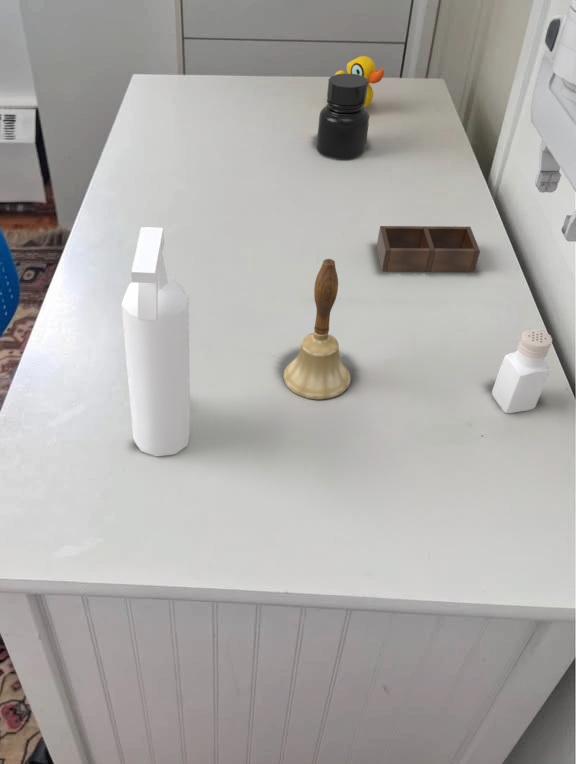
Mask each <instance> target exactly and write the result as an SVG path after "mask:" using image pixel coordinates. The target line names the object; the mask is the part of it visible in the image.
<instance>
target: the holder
mask: <svg viewBox="0 0 576 764" xmlns="http://www.w3.org/2000/svg"><path fill="white" fill-rule="evenodd" d="M471 227H472V226H453V225H451V226H442V225H441V226H440V225H439V226H438V225H436V226H435V225H433V226H432V225H428V226H427V225H426V226H425V225H424V226H423V225H422V226H421V225H380V226H379V231H378V236H377V242H376V251H377V255H378V261H379V265H380V270H381V272H382V273H465V274H467V273H475V270H476V267H477V264H478V259H479V257H480V253H481V249H480V248H479V245H478V242H477V240H476V237H475V235H474V232H473V229H472V228H471Z"/></svg>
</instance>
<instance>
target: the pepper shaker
mask: <svg viewBox="0 0 576 764" xmlns="http://www.w3.org/2000/svg"><path fill="white" fill-rule="evenodd" d="M552 343H553V337H552V336H551V334H549V333H548V332H546V331H544V330H541V329H538V328H529V329H527V330H524V331H523V332H522V334H521V336H520V339H519V342H518V344H517V347H516V351H512V352H510V353H507V354H506V355H505V356H504V357H503V359H502V362H501V365H500V368H499V371H498V373H497V376H496V379H495V382H494V385H493V388H492V390H491V395H492V397H493V399H494V400H495V402H496V403H497V404H498V406H499V407H500V408H501V410H502V411H503V412H504V413H506V414H513V413H520V412H525V411H532V410H533V409H535V408H536V406H537V404H538V401H539V399H540V396H541V394H542V392H543V390H544V387H545V385H546V382H547V380H548V377H549V375H550V373H551V367H550V365H549V364H548V362H547V361H546V357H547V356H548V352H549V350H550V348H551V346H552Z"/></svg>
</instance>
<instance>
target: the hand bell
mask: <svg viewBox="0 0 576 764" xmlns="http://www.w3.org/2000/svg"><path fill="white" fill-rule="evenodd" d="M338 291H339V278H338V273H337V269H336V262H335V260H334V259H332V258H326V259H323V261H322V264H321V266H320V268H319V271H318V273H317V275H316V277H315V281H314V289H313V295H314V302H315V303H314V304H315V308H316V315H315V323H314V326H313V327H314V329H313V330H314V331H313V332H312V333H309V334H307V335H306V336H304V338H303V339H302V340H301V343H300V348H299V351H298V354H297V356H296V358H295V359H293V360H292V361H291V362H289V363H288V364H287V366H286V367H285V369H284V370H283V375H282V378H283V382H284V385H285V386H286V387H287V388H288V389H289V390H290V391H291V392H293V394H295V395H298V396H300V397H302V398H306V399H310V400H327V399H332V398H335V397H337V396H340V395H342V394H343V393H344V392H346V391H347V389H348V388H349V387H350V384H351V372H350V371H349V369H348V367H347V366H346V365H345V364H344V363H343V362H341V358H340V345H339V344H340V343H339V341H338V339H337V338H336V337H335V336H333V335H332V334H330V333H329V331H330V317H331V312H332V309H333V306H334V304H335V302H336V300H337V296H338Z"/></svg>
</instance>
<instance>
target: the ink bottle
mask: <svg viewBox="0 0 576 764" xmlns="http://www.w3.org/2000/svg"><path fill="white" fill-rule="evenodd" d="M335 74H336V73H335ZM335 74H334V75H331V76H330V77H329V78H328V83H327V92H326V105H325V106H324V107H322V109H321V110H320V112H319V116H318V127H317V137H316V138H317V139H316V150H317V152H318V153H319V154H321V155H322V156H325V157H327V158H330V157H331V158H330V159H335V158H336V159H337V160H350V159H354V158H358V157H359V156H361V155H362V154H364V151H365V150H366V145H367V140H368V132H369V125H370V123H369V122H370V112H369V110H368V109H367V107H366V108H365V107H364V104H365V100H366V94H367V87H368V79H366V78H365V77H364V76H360V75H358V74H351V73H350V74H347V73H346V74H344V73H343V74H336V75H335Z"/></svg>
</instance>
